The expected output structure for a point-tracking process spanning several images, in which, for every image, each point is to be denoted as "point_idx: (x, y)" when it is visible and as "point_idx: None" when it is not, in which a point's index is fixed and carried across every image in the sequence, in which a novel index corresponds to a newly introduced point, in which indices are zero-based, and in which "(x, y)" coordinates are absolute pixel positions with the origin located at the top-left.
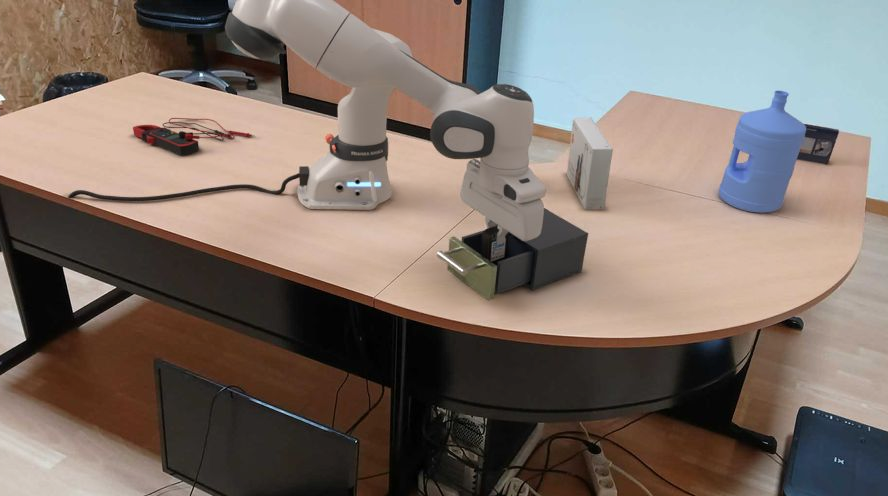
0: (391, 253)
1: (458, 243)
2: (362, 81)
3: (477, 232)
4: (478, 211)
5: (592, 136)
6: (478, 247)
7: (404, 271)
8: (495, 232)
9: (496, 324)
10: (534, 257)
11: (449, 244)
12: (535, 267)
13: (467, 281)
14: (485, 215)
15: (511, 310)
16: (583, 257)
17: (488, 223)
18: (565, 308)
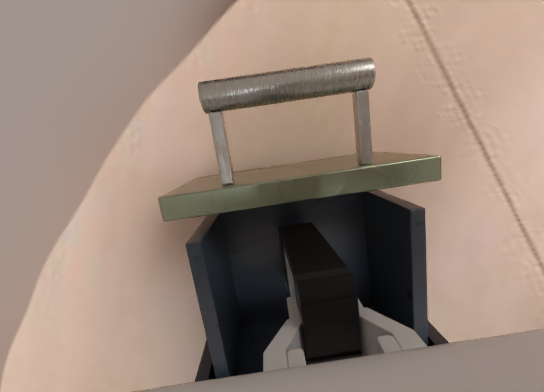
0: (527, 56)
1: (382, 166)
2: None
3: (424, 279)
4: (490, 341)
5: None
6: (384, 256)
7: (429, 46)
8: (302, 323)
9: (117, 151)
10: (210, 370)
11: (418, 154)
12: (205, 346)
13: (287, 165)
14: (416, 355)
15: (160, 214)
16: None
17: (383, 333)
18: (129, 325)
